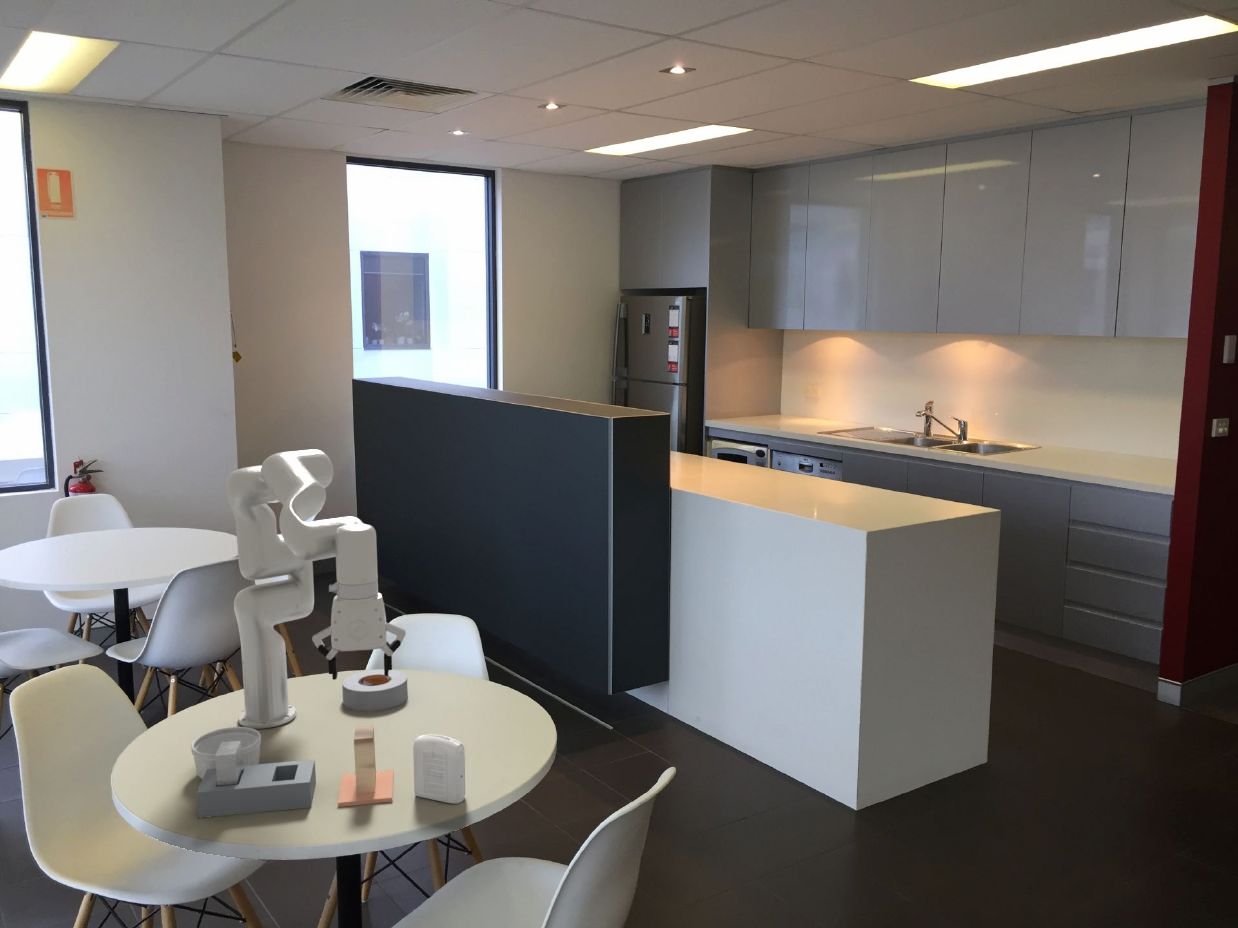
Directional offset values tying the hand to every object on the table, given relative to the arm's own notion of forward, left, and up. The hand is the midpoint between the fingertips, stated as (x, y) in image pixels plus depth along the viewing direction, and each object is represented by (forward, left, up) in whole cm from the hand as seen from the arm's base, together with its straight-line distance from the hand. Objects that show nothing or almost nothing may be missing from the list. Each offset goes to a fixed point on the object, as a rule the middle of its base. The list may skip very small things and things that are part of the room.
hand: (360, 675), depth 191 cm
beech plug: (0, 0, -22) cm, 22 cm away
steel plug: (0, -25, -23) cm, 34 cm away
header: (0, -20, -23) cm, 31 cm away
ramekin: (-14, -28, -24) cm, 39 cm away
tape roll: (-48, 0, -24) cm, 53 cm away
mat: (0, 0, -23) cm, 23 cm away
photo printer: (+6, +14, -24) cm, 28 cm away
